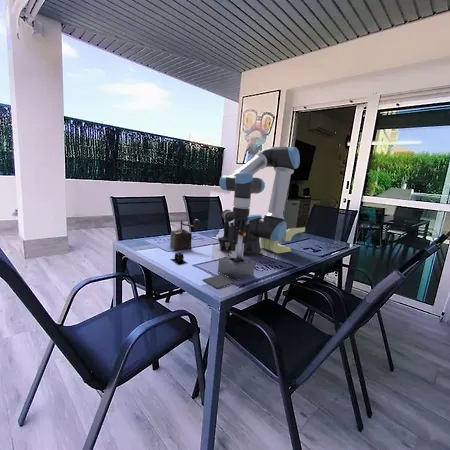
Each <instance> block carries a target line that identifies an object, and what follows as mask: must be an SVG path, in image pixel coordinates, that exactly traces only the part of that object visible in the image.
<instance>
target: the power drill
mask: <svg viewBox="0 0 450 450" xmlns="http://www.w3.org/2000/svg"><path fill="white" fill-rule="evenodd" d="M220 216H221V218H222V219H223V221H224V226H223V236H221V237H217V240H218V243H219V249H220V251H222V252H232V251H231V245H232V244H231V243H229V242H228V231H229V226H228V222H231V221H232V220H233V217H234V216H233V210H230V209H225V210H223V211H222V212H221V214H220Z"/></svg>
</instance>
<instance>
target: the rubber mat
mask: <svg viewBox="0 0 450 450" xmlns="http://www.w3.org/2000/svg"><path fill="white" fill-rule="evenodd" d="M202 281H203V282H205V283H206V284H208V285H210V286H211V285H212V287H213V286H214V287H213V288H215V287H216V288H215V289H217V288H219V289H221V288H220V287H222V288H225V287H228V286H227V285H229V286H231V285H230V284H232V285H234V284H233V283H235V284H236V281H234V280H232V279H230V278H228V277H227V276H225V275H223V274H218V275H217V274H216V275H215V276H214V275H213V276H211V277H210V276H209V277H207V278H202ZM224 286H225V287H224Z"/></svg>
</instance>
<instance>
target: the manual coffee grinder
mask: <svg viewBox="0 0 450 450" xmlns="http://www.w3.org/2000/svg"><path fill="white" fill-rule="evenodd" d="M193 223H194V224H193V225H191V224H187V223H183V220H180V228H179V229H176V230H171V231H170V241H169V242H170V243H169V246H170V245H171V246H170V247H171V248H172V249H174V250H175V251H177V250H179V251H180V250H188V249H192V236H193V235H192V233H191V232H190V231H188V230H186V229H184V228H183V226H187V227H190V228H198V227H199V224H201V221H200V220H199V219H197V218H195V219H194V220H193Z"/></svg>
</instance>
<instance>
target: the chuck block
mask: <svg viewBox="0 0 450 450" xmlns="http://www.w3.org/2000/svg"><path fill="white" fill-rule="evenodd" d="M255 265H256V261H255V260H252V259H250V258H247V257H245V256H243V257H241V262H238V263H236V262H234V261H233V257H231V255H228V256H223V257H219V258H218V265H217V273H219V272H220V273H219V274H221V273H222V274H221V275H223V274H224V275H223V276H225V275H226V276H225V277H227V276H228V277H229V278H228V277H227V278H228V279H230V278H231V279H230V280H232V279H234V280H237V281H239V280H238V279H240V280H243V279H245V277H247V278H249V277H248V276H250V277H252V276H251V275H253V276H254V275H255ZM242 278H243V279H242ZM234 280H233V281H234Z"/></svg>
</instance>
